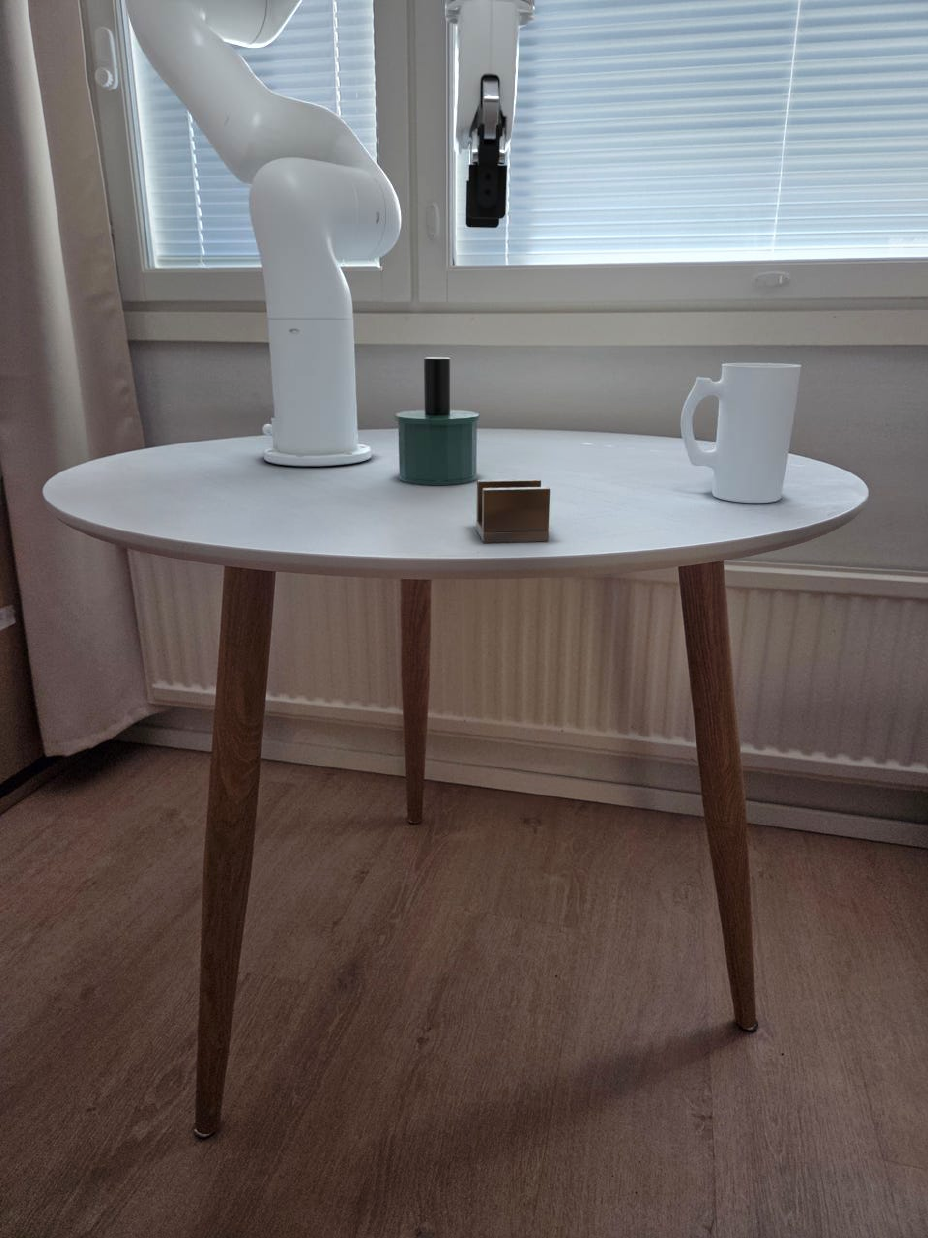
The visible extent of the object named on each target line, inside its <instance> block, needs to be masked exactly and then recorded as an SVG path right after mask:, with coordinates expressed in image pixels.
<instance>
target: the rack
mask: <svg viewBox="0 0 928 1238" xmlns="http://www.w3.org/2000/svg"><path fill="white" fill-rule="evenodd" d="M550 507H551V488H550V487H549V486H542V479H540V478H506V479H505V478H503V479H502V478H499V479H477V480H476V520H475V523H476V524H475V528H476V531H477V533H478V535H479V537H480V539H481V541H482V542H483V543H484V544H491V543H492V544H493V543H495V544H496V543H497V544H499V543H533V542H549V541H550V531H549V530H550V513H551V512H550V510H551V509H550Z"/></svg>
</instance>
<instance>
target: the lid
mask: <svg viewBox="0 0 928 1238" xmlns="http://www.w3.org/2000/svg"><path fill="white" fill-rule="evenodd" d="M423 374H424V375H423V383H424V384H423V387H424V388H423V389H424V390H423V392H424V395H423V396H424V409H416V410H406V411H400V412H397V413H395V421H396V422H401V423H408V424H419V425H455V424H467V423H473V422H477V423H478V422H479V421H480V414H479V413H478V412H475V411H470V410H461V409H460V410H458V409H451V358H450V357H441V356H440V357H439V356H438V357H437V356H436V357H435V356H433V357H431V356H429V357H424V358H423Z"/></svg>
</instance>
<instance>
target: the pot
mask: <svg viewBox="0 0 928 1238" xmlns="http://www.w3.org/2000/svg"><path fill="white" fill-rule="evenodd" d="M397 422H398V421H397ZM397 427H398V460H399V461H398V465H399V467H398V469H399V479H400V481H402V482H404V483H407V484H412V485H413V484H414V485H420V486H453V485H462V484H467V483H470V482H474V481H476V479H477V453H478V452H477V449H478V447H477V445H478V444H477V443H478V439H477V437H478V436H477V435H478V421H477V422H473V423H467V424H455V425H419V424H408V423H401V422H398V426H397Z"/></svg>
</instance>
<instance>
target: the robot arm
mask: <svg viewBox="0 0 928 1238" xmlns="http://www.w3.org/2000/svg"><path fill="white" fill-rule="evenodd" d="M302 1H303V0H125V6H126V10H127V15H128V19H129V22H130V25H131V28H132V31H133V33H134V37H135V38H136V41H137V43H138V46H139V47H140V49H141V51H142V53H143V54H144V56H145V57H146V59H147V61H148V62H149V64H150V65H151V66H152V69H154V71H155V72H156V73H157V75H158V76H159V78H160V79H161V80H162V81H163V82H164V83H165V85H167V87H168V88H169V89H170V91H171V92H172V93H173V94H174V95H175V97H176V98H177V99H178V100H179V101H180V103H182V105H183V106H184V108H185V109H186V110H187V111H188V113H189V115H190V116H191V118H192V119H193V121H194V122H195V124H196V125H197V127H198V128H199V130H200V131H201V133H202V134H203V135H204V137H205V139H207V141H208V142H209V144H210V145H211V147H212V148H213V149H214V151H215V152H216V154H217V156H218V157H219V159H221V161H222V162H223V164H224V165H225V166H226V168H227V170H229V171H230V173H231V174H232V175H233V176H234V177H235V178H236V179H237V180H239V181H240V182H242V183H244V184H245V185H249V186H250V187H249V192H248V193H249V194H248V209H249V215H250V216H249V217H250V222H251V225H252V230H253V233H254V237H255V242H256V245H257V249H258V254H259V258H260V264H261V269H262V270H261V271H262V277H263V284H264V285H263V286H264V295H265V296H264V297H265V306H266V319H267V331H268V333H267V334H268V345H269V346H268V347H269V357H270V358H269V359H270V372H271V388H272V389H271V390H272V402H273V403H272V404H273V415H274V417H271V418H270V420H271V421H270V422H271V424H270V423H264V424H263V426H262V433H263V434H264V435H265V436H270V437H272V445H271V446H269V447H266V448H265V449H264V450H263V459H264V461H266V462H267V463H271V464H275V465H280V466H281V465H282V466H291V467H330V466H331V467H332V466H343V465H344V466H345V465H351V464H358V463H362V462H365V461H367V460H370V459H371V458H372V457H373V456H372V448H371V447H370V446H369V445H366V444H362V443H359V435H358V434H359V433H358V431H359V430H358V409H357V385H356V383H357V381H356V361H355V360H356V359H355V358H356V357H355V334H354V331H355V330H354V312H353V311H354V310H353V301H352V294H351V291H350V287H349V284H348V281H347V279H346V276H345V274H344V272H343V270H342V268H341V266H340V264H339V261H338V260H349V261H372V260H375V259H379V258H381V257H383V256H385V255H386V254H388V253H389V252H390V251H391V250H392V249H393V248H394V247H395V245H396V244H397V242H398V239H399V237H400V233H401V227H402V211H401V206H400V201H399V197H398V195H397V193H396V191H395V189H394V187H393V185H392V183H391V181H390V179H389V178H388V177H387V175H386V174H385V172H384V171H383V169H382V168H381V167H380V165H378V163H377V162H376V160H375V159H374V158H373V156H372V155H371V154H370V152H369V151H368V149H366V147H365V146H364V144H363V143H362V141H360V139H359V138H358V136H357V135H356V133H355V132H354V131H353V130H352V129H351V127H350V126H349V125H348V124H347V122H346V121H345V120H344V119H342V117H341V116H339V115H338V114H336V113H335V112H334V111H332V110H331V109H329V108H327V107H326V106H323V105H320V104H316V103H314V102H310V101H305V100H301V99H298V98H294V97H289V96H287V95H286V96H285V95H283V94H281V93H278V92H274V91H272V90H270V89H269V88H268V87H267V86H266V85H265V84H264V83H263V82H262V81H261V80H260V79H259V78H258V76H257V75H256V74H255V73H254V72H253V70H252V69H251V67H250V65H249V64H248V63H247V61H246V60H245V58H244V57H243V56H241V54H240V53H239V52H238V51H236V49H235V48H234V47H232V46H231V45H230V44H232V45H237V46H240V47H243V48H249V49H258V48H263V47H266V46H267V45H269V44H271V43H273V41H274V40H275V39H276V38H277V37H278V36H279V35H280V34H281V33H282V31H283V30H284V28H285V27H286V25H288V22H289V21H290V19H291V18H292V16H293V14H295V12H296V10H297V9H298V7H299V6H300V4H301V3H302ZM535 2H536V0H444V19H445V20H446V21H447V22H448V24H451V25H452V26H455V27H456V37H455V54H454V56H455V57H454V113H453V114H454V116H453V117H454V121H453V139H454V140H453V143H454V144H453V147H454V148H453V150H454V152H455V153H456V154H457V155H459V156H462V151H463V150H468V151H469V152H468V156H469V159H468V160H469V161H468V177H467V179H468V180H466V181H465V226H466V227H467V228H473V229H476V228H477V229H478V228H479V229H481V228H482V229H496V228H498V227H499V225H500V219H503V218H504V217H505V216H506V209H507V184H508V183H507V179H508V178H507V177H508V165H506V152H507V151H508V150H509V147H510V144H511V141H512V137H513V129H514V124H515V123H514V122H515V115H516V105H517V104H516V103H517V89H518V73H519V52H520V51H519V50H520V29H521V28H523V27H526V26H528V25H530V24H531V23H533V21H534V20H535Z"/></svg>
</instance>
